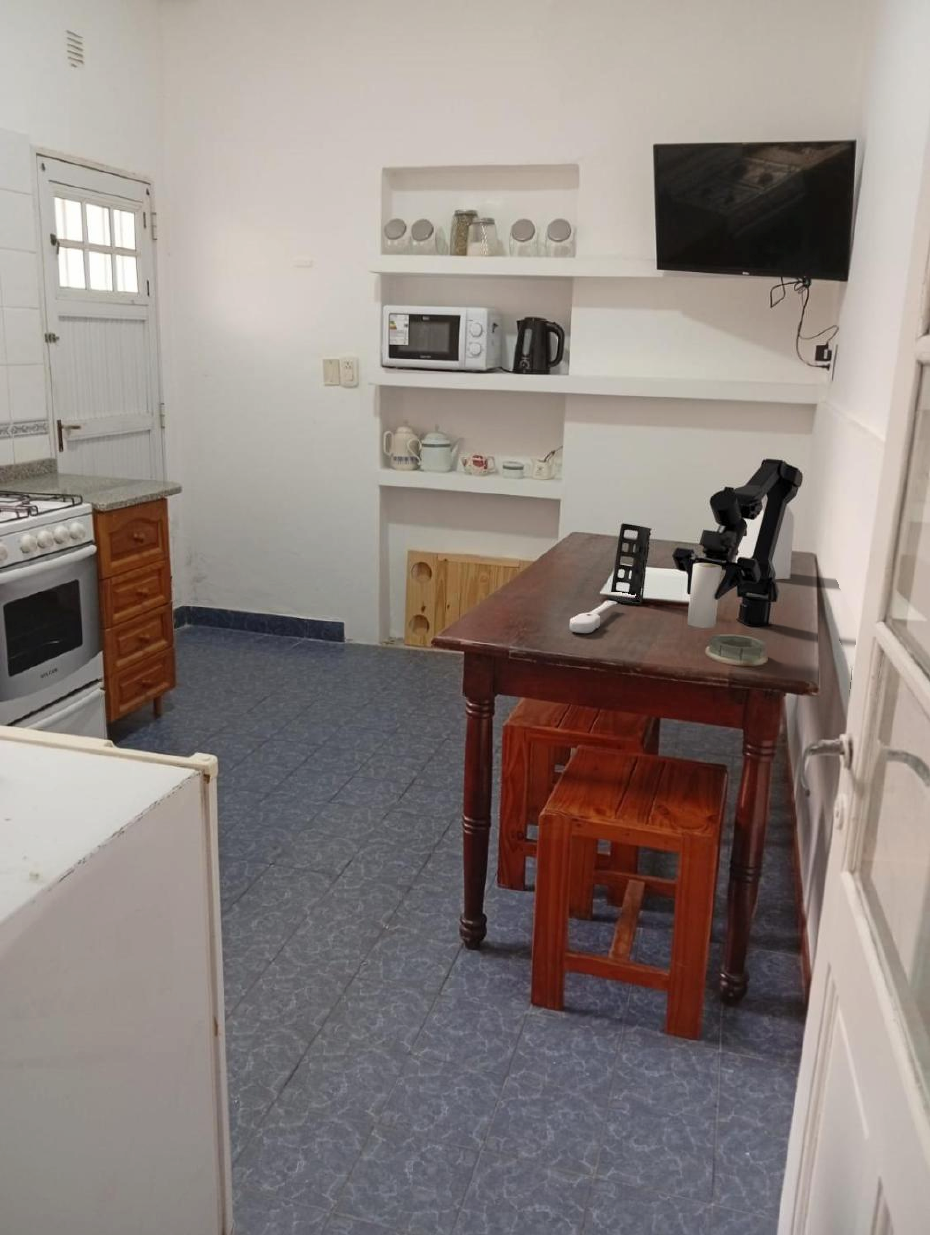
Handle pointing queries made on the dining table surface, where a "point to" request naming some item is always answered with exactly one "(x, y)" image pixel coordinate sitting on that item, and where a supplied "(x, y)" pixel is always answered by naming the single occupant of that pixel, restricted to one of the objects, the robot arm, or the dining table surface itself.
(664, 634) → the dining table surface
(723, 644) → the stand
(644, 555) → the holder
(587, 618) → the white long handled piece
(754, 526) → the milk
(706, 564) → the paper roll
